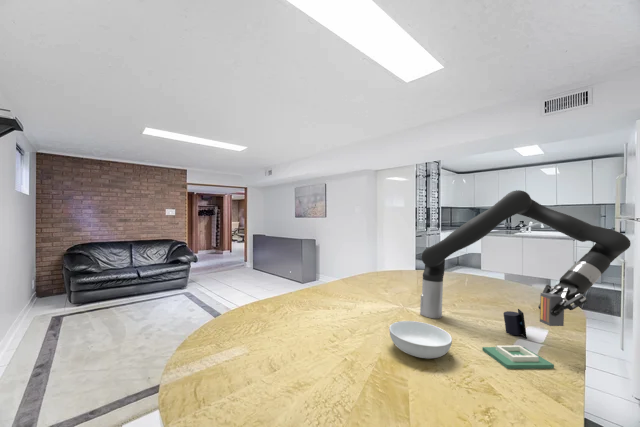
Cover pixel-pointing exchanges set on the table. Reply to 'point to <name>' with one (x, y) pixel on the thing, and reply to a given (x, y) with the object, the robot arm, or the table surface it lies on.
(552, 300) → the gray rectangular block
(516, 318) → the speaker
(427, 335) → the serving bowl
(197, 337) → the table surface
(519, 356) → the board
